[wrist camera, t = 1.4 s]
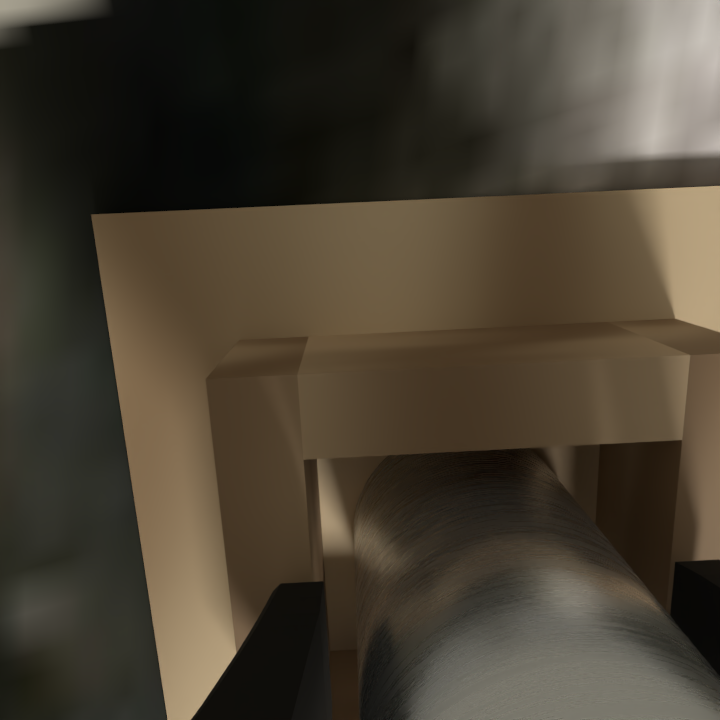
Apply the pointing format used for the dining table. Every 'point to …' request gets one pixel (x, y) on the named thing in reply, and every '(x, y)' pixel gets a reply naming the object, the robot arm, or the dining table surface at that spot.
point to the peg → (507, 602)
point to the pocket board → (401, 386)
